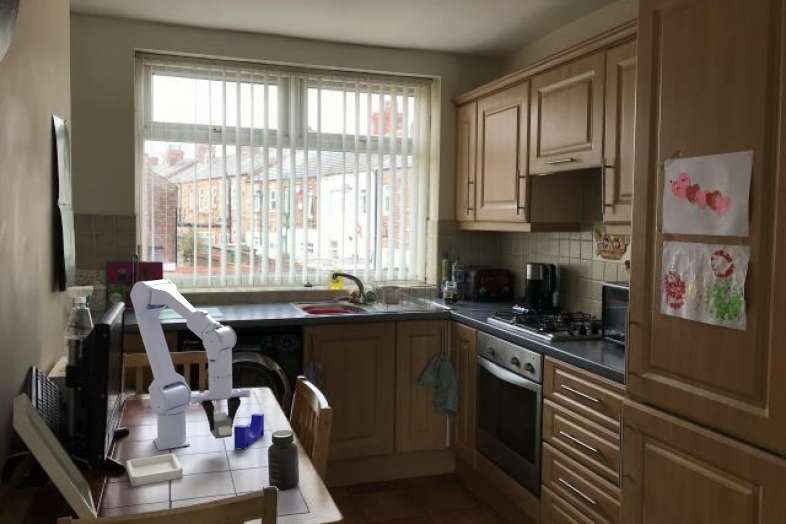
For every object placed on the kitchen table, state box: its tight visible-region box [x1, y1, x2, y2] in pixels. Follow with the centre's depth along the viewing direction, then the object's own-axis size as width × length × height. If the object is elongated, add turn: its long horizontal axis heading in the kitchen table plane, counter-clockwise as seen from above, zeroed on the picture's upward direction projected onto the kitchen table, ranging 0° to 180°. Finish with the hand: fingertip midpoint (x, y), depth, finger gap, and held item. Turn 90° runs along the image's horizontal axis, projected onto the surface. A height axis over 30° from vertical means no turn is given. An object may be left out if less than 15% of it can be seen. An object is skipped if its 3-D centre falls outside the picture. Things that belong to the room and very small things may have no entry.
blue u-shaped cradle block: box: [233, 412, 265, 450], centre depth 179 cm, size 12×4×6 cm, turn 167°
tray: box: [126, 452, 184, 487], centre depth 156 cm, size 12×11×2 cm
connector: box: [209, 411, 233, 440], centre depth 168 cm, size 9×4×4 cm, turn 27°
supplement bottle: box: [267, 429, 300, 492], centre depth 149 cm, size 7×7×12 cm
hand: (221, 427), depth 168 cm, fingers closed on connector, 4 cm apart
